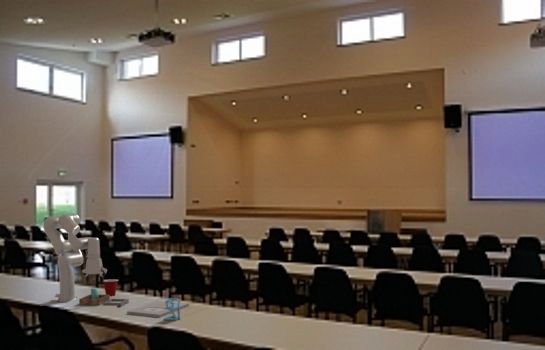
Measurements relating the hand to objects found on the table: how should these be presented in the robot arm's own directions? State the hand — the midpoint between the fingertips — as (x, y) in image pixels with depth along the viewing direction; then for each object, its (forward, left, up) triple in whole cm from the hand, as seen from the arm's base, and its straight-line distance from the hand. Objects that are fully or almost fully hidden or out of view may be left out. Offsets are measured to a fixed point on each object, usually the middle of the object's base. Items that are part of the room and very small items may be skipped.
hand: (95, 282), depth 347 cm
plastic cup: (-1, +23, -15) cm, 27 cm away
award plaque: (+48, -12, -15) cm, 52 cm away
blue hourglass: (+65, -33, -15) cm, 75 cm away
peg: (-1, 0, -13) cm, 13 cm away
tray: (+14, 0, -14) cm, 20 cm away
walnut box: (-1, 0, -14) cm, 14 cm away
